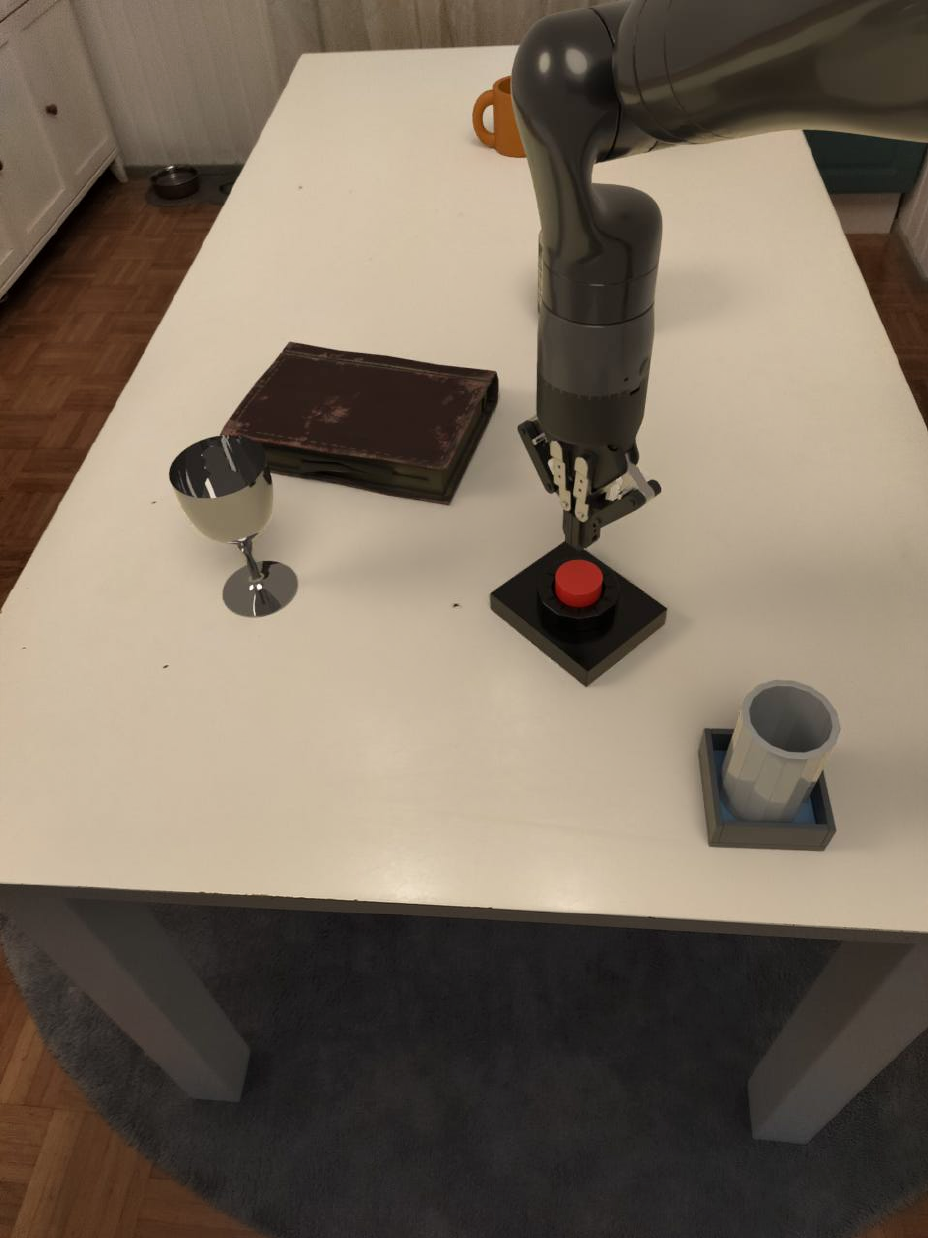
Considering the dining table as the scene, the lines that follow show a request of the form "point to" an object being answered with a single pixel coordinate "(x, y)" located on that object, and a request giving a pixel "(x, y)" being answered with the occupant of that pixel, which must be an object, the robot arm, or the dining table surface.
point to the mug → (498, 120)
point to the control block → (578, 615)
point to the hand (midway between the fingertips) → (580, 542)
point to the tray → (727, 831)
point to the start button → (578, 583)
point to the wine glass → (234, 516)
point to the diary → (368, 420)
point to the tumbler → (777, 751)
